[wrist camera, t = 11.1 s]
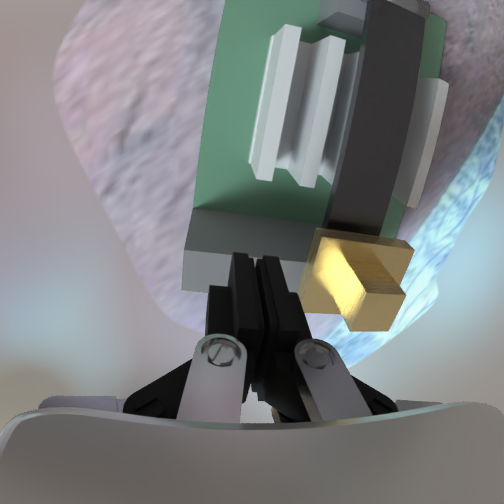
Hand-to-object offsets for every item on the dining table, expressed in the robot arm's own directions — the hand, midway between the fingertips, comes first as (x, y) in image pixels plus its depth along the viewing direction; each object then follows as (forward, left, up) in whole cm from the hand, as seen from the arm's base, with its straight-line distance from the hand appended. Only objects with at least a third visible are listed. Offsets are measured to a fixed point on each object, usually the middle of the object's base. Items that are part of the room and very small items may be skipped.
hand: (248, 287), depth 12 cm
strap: (-7, +5, -5) cm, 10 cm away
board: (-6, +5, -10) cm, 13 cm away
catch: (0, +5, -3) cm, 6 cm away
